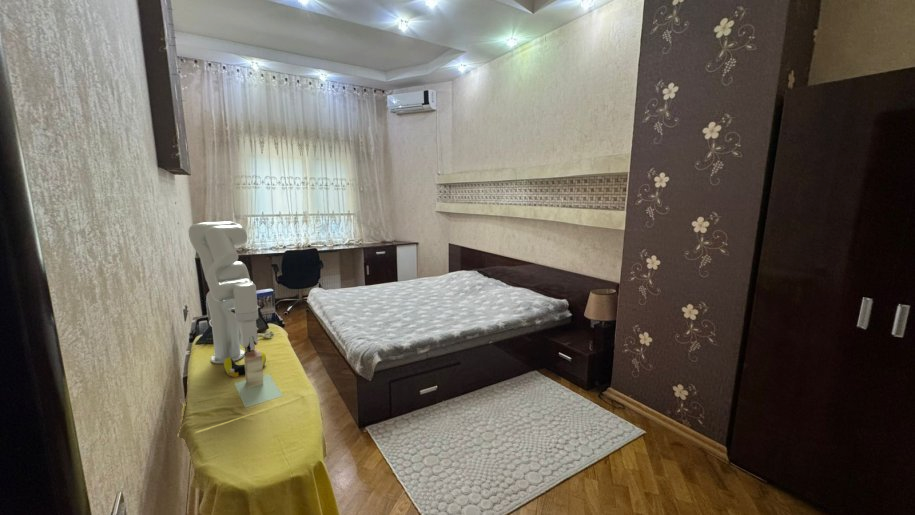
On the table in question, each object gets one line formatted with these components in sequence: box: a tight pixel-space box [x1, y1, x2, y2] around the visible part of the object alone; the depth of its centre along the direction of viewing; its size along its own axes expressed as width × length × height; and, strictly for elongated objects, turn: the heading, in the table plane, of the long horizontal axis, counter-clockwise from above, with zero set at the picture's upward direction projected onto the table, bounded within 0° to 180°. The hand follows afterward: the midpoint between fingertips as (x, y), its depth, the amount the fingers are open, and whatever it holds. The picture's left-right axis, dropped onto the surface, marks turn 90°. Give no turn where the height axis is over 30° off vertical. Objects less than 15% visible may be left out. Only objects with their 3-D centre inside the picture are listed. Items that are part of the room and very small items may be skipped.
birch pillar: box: [243, 349, 264, 388], centre depth 138 cm, size 5×5×12 cm
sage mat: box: [234, 373, 283, 409], centre depth 136 cm, size 20×12×1 cm, turn 40°
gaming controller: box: [223, 351, 267, 378], centre depth 149 cm, size 15×6×10 cm
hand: (250, 361), depth 142 cm, fingers closed
